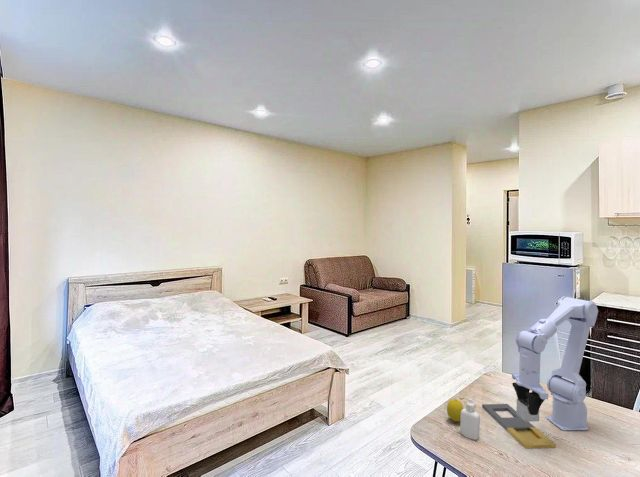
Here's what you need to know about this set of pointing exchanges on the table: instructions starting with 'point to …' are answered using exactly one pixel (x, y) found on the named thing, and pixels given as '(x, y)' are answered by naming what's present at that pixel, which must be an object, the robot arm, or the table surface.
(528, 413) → the grey cube with hole
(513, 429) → the rail
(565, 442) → the table surface
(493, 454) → the table surface
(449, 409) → the lemon
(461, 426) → the eye dropper bottle
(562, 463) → the table surface
